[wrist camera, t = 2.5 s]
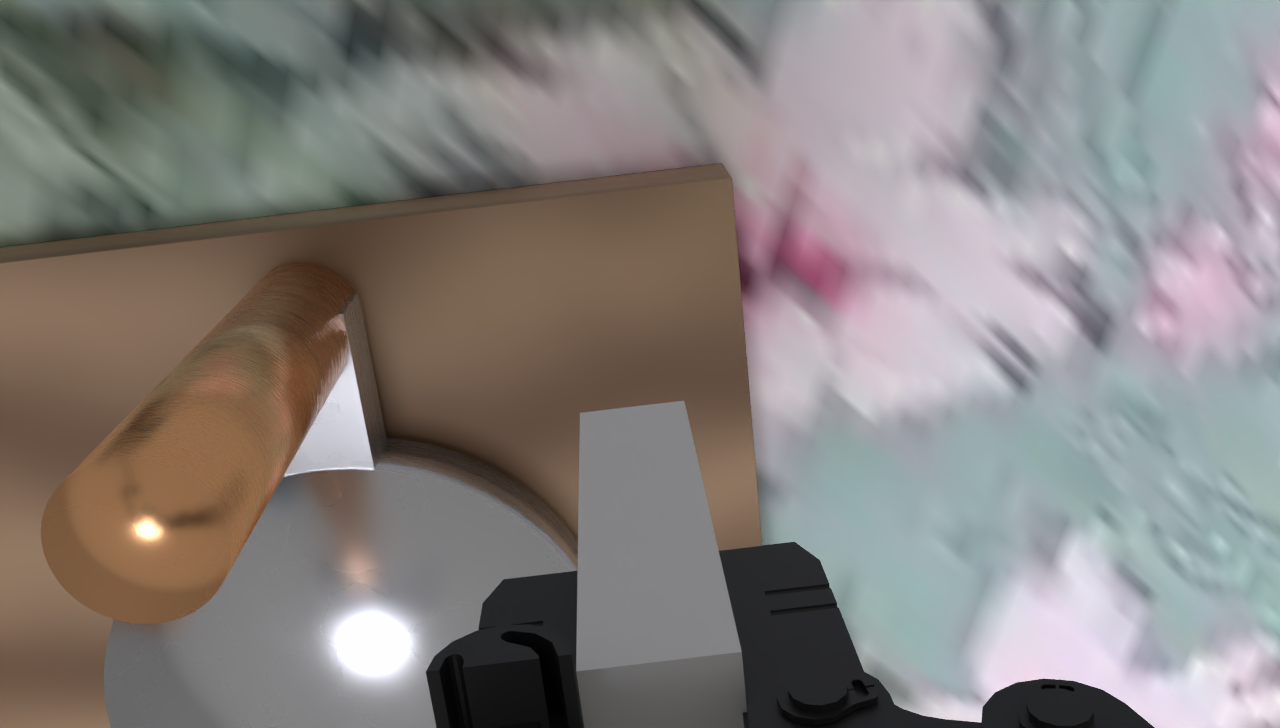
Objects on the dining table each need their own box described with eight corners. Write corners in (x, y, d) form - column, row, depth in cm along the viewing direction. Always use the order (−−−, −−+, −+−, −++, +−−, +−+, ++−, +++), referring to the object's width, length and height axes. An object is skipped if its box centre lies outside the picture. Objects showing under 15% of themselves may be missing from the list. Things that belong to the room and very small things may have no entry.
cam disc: (638, 818, 32) (666, 1232, 22) (196, 872, 32) (11, 1316, 21) (559, 231, 27) (548, 406, 16) (28, 294, 26) (-327, 510, 16)
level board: (-105, 259, 28) (-222, 311, 24) (721, 163, 29) (745, 198, 24) (125, 965, 36) (65, 1098, 31) (782, 883, 36) (809, 1004, 32)
